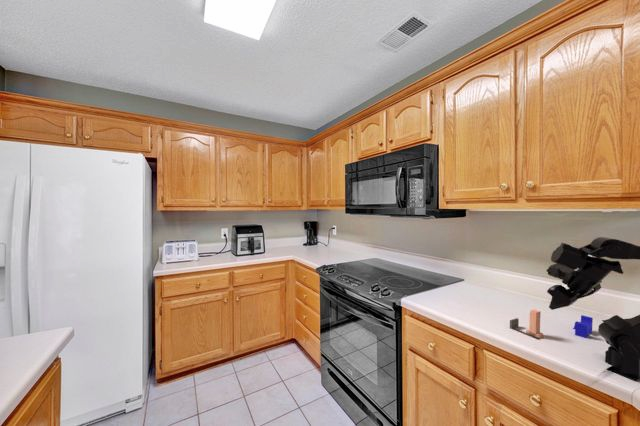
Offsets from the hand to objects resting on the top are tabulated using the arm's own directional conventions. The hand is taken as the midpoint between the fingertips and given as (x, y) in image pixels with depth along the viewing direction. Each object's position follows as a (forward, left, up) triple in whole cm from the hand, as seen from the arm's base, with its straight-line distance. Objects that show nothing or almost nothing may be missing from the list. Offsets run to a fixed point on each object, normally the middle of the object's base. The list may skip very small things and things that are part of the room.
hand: (558, 304), depth 90 cm
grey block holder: (+9, 0, -15) cm, 17 cm away
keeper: (+7, 0, -14) cm, 15 cm away
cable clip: (+1, -20, -16) cm, 25 cm away
